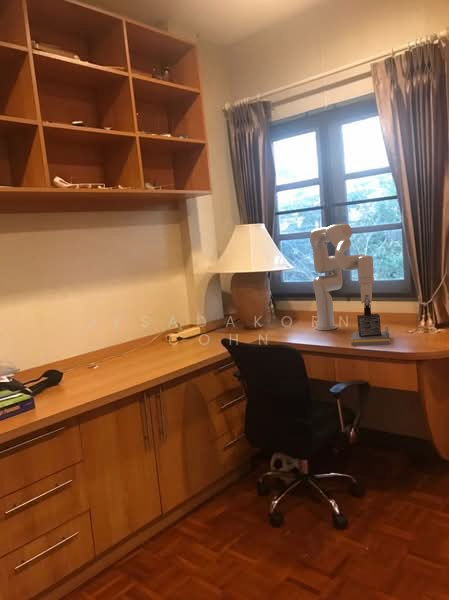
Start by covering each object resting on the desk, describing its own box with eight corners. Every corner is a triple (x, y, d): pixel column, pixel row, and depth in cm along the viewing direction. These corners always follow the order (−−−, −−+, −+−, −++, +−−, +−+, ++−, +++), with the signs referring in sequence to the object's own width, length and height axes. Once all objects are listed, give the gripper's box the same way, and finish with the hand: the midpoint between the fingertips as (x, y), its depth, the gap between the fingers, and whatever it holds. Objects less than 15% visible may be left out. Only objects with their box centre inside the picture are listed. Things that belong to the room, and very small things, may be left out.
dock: (352, 338, 256) (351, 328, 255) (388, 336, 251) (387, 326, 250) (351, 345, 241) (351, 335, 240) (389, 344, 235) (389, 333, 235)
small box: (379, 333, 248) (377, 313, 247) (381, 335, 242) (380, 315, 241) (358, 334, 250) (356, 314, 249) (360, 337, 244) (358, 316, 242)
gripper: (358, 278, 251) (360, 310, 254) (358, 283, 235) (359, 317, 238) (373, 277, 249) (375, 309, 252) (374, 282, 233) (375, 317, 236)
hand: (367, 313), depth 245 cm, fingers open, 9 cm apart
